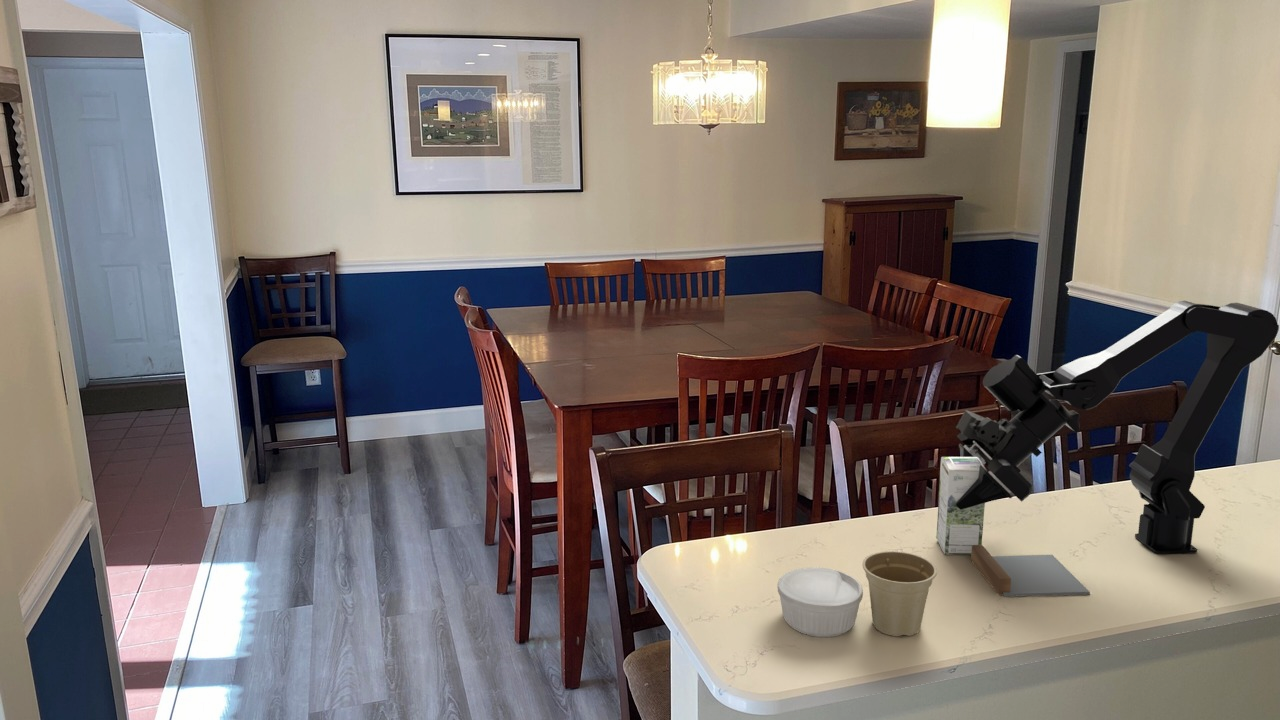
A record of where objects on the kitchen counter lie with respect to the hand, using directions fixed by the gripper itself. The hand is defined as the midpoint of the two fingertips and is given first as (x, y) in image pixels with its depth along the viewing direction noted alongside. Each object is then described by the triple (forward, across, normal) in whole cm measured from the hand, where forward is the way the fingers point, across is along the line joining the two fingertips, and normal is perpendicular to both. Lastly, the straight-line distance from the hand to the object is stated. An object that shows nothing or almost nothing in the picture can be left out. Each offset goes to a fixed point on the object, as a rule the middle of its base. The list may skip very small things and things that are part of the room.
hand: (951, 499), depth 142 cm
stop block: (+4, +10, +8) cm, 13 cm away
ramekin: (+23, +22, -11) cm, 33 cm away
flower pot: (+16, +24, -4) cm, 29 cm away
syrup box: (+5, 0, +7) cm, 9 cm away
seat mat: (0, +10, +12) cm, 16 cm away
